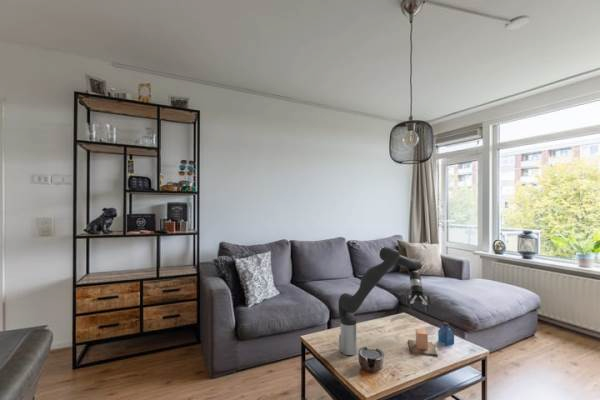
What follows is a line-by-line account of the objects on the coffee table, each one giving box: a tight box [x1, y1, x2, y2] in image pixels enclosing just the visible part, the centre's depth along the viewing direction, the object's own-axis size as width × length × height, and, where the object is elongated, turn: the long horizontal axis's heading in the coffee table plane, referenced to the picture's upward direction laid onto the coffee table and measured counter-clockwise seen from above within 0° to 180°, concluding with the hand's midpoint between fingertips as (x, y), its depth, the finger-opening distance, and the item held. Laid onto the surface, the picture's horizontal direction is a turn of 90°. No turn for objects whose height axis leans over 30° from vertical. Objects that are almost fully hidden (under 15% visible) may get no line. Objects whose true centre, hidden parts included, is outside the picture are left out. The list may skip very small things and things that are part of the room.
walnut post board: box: [407, 339, 439, 357], centre depth 166 cm, size 14×14×7 cm
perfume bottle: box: [437, 321, 455, 346], centre depth 173 cm, size 6×6×12 cm
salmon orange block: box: [415, 328, 429, 350], centre depth 166 cm, size 6×6×9 cm
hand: (419, 311), depth 176 cm, fingers open, 8 cm apart
